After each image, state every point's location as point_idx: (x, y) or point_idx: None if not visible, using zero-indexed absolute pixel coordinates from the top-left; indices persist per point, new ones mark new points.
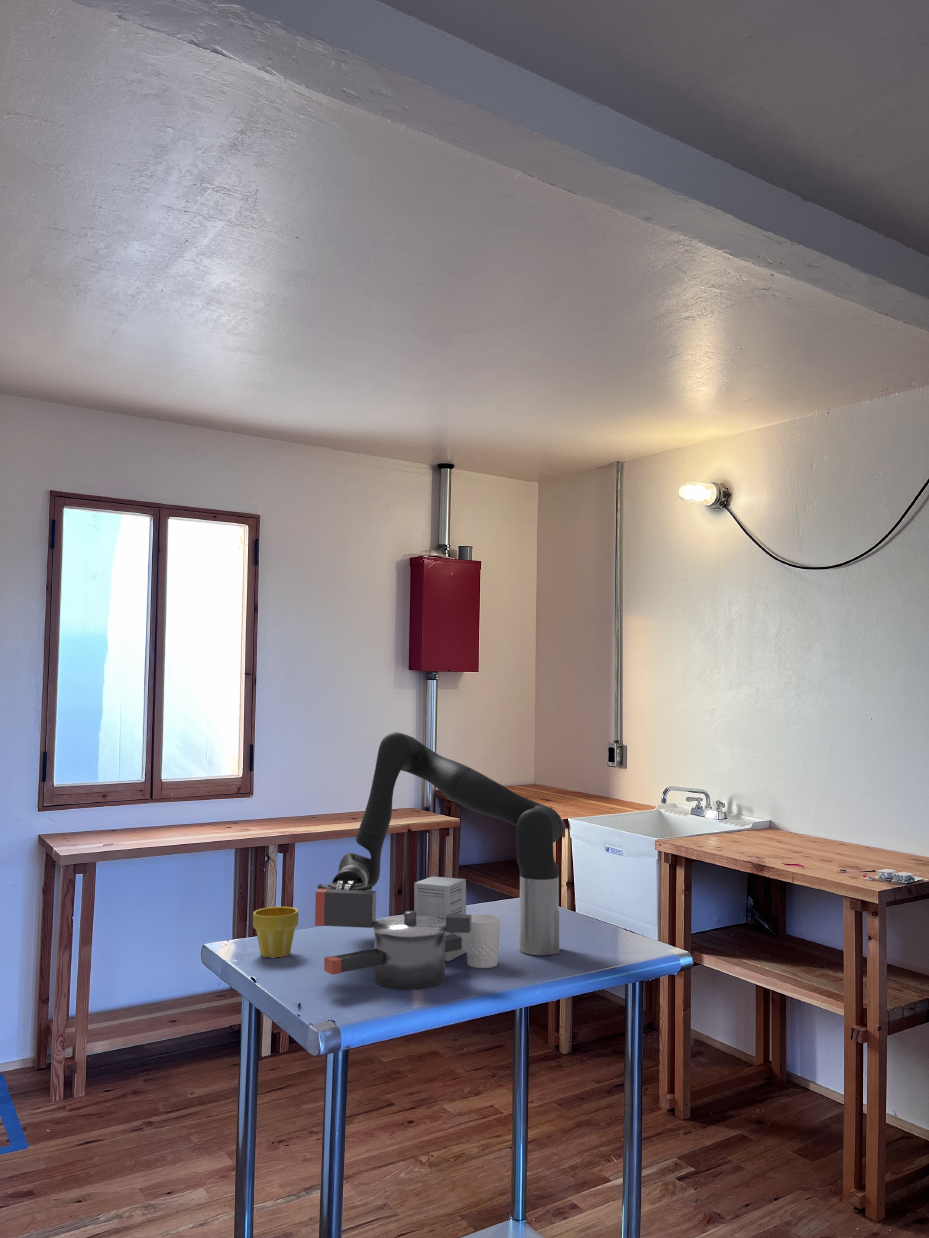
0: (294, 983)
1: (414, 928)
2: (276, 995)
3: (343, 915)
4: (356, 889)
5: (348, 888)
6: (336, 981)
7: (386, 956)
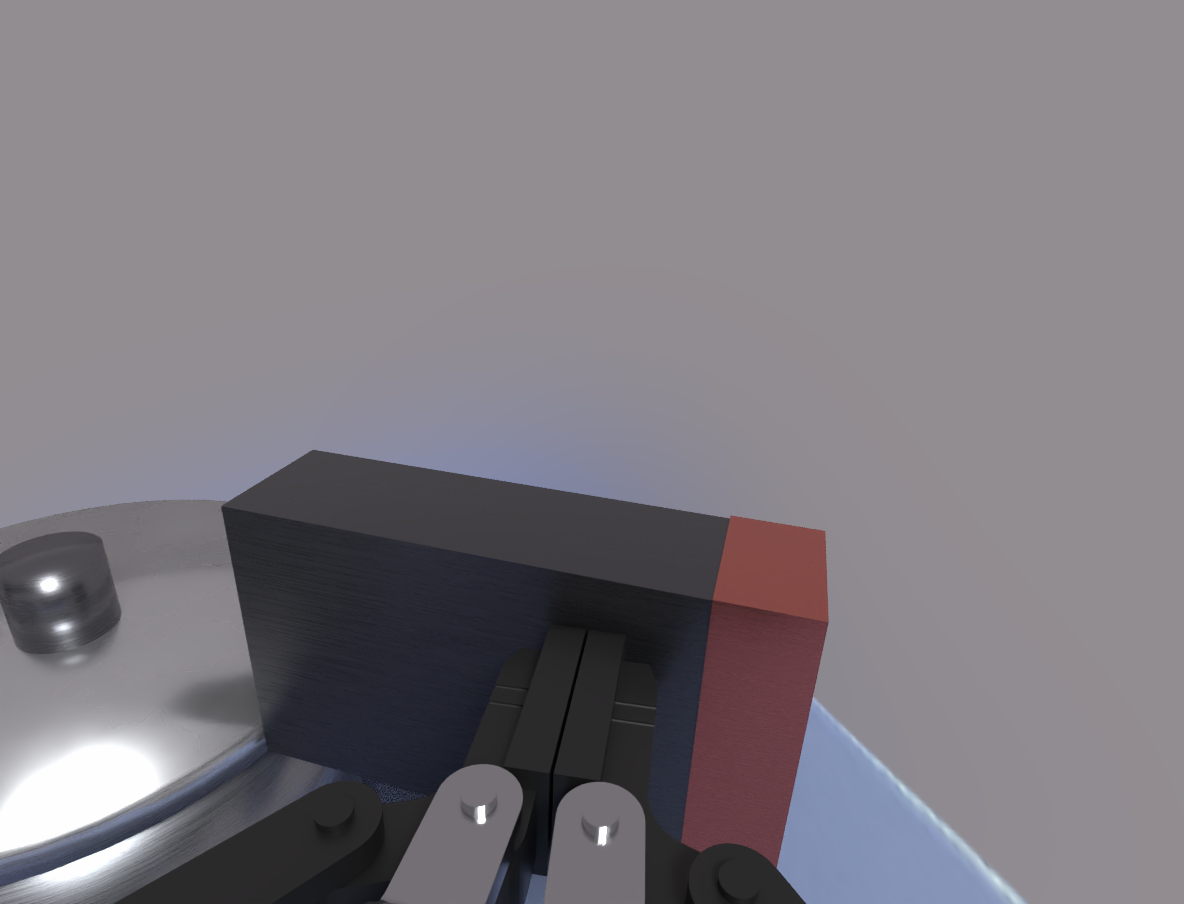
0: (809, 884)
1: (133, 549)
2: (832, 733)
3: None
4: (309, 801)
5: (426, 848)
6: None
7: None
